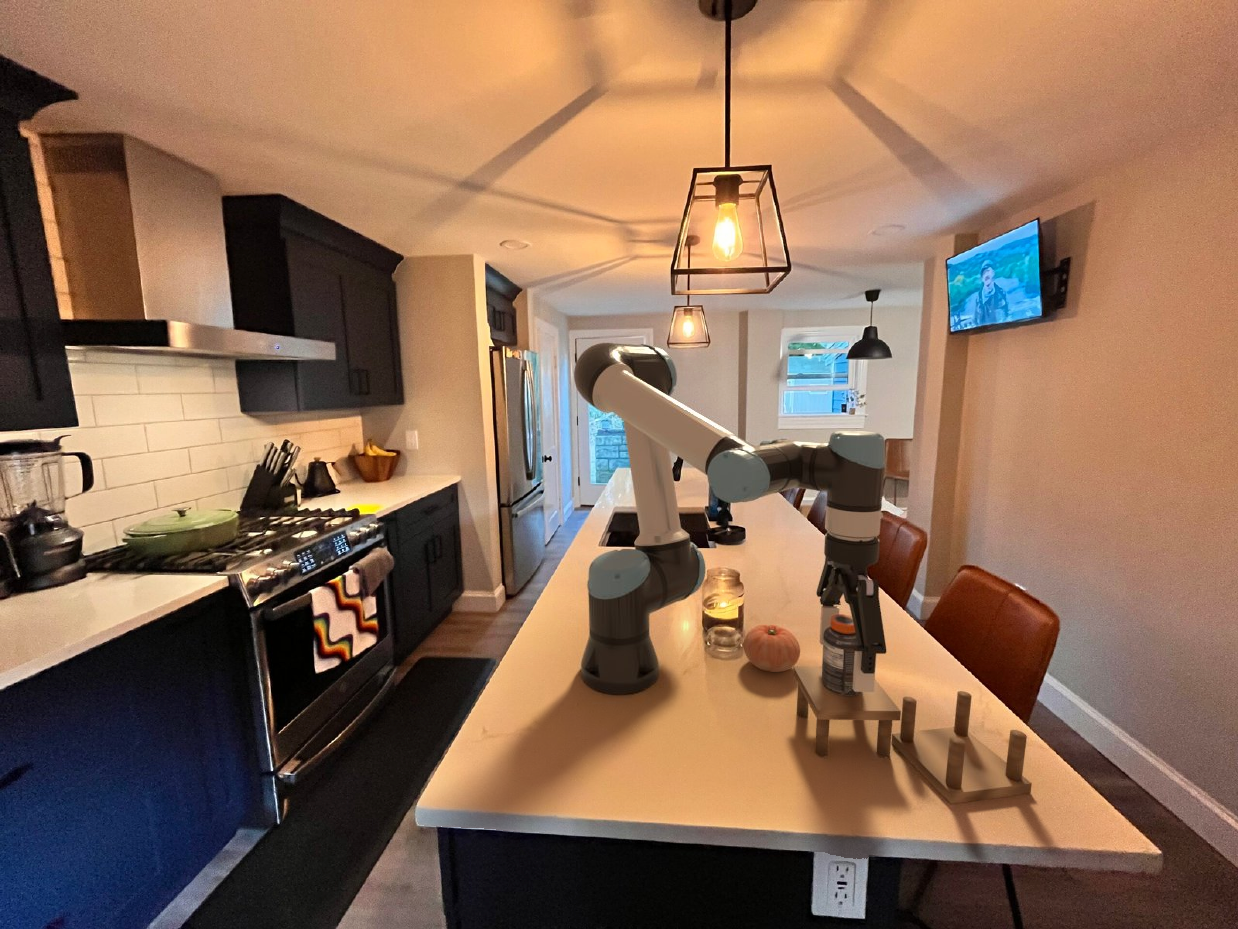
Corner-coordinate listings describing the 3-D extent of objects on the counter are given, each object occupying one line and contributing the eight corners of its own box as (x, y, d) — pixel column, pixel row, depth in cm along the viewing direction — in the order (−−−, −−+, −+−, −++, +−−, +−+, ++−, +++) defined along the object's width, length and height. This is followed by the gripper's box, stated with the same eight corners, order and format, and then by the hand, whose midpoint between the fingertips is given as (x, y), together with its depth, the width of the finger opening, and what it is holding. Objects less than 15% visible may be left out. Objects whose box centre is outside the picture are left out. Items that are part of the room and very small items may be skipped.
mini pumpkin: (731, 664, 103) (732, 627, 102) (763, 646, 110) (764, 611, 109) (779, 688, 95) (780, 647, 94) (810, 667, 102) (811, 629, 100)
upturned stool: (950, 804, 68) (956, 749, 67) (891, 742, 80) (895, 695, 79) (1030, 793, 70) (1037, 740, 69) (960, 734, 82) (965, 688, 80)
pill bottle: (856, 677, 84) (860, 612, 82) (866, 699, 78) (871, 629, 76) (818, 674, 85) (821, 609, 83) (825, 695, 79) (828, 626, 77)
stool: (815, 759, 77) (817, 710, 75) (791, 709, 89) (793, 666, 87) (897, 760, 76) (900, 711, 75) (862, 710, 88) (865, 666, 87)
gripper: (922, 562, 65) (910, 715, 68) (844, 513, 90) (837, 628, 93) (862, 562, 65) (852, 714, 68) (800, 513, 90) (795, 627, 93)
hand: (844, 665), depth 81 cm, fingers open, 13 cm apart
